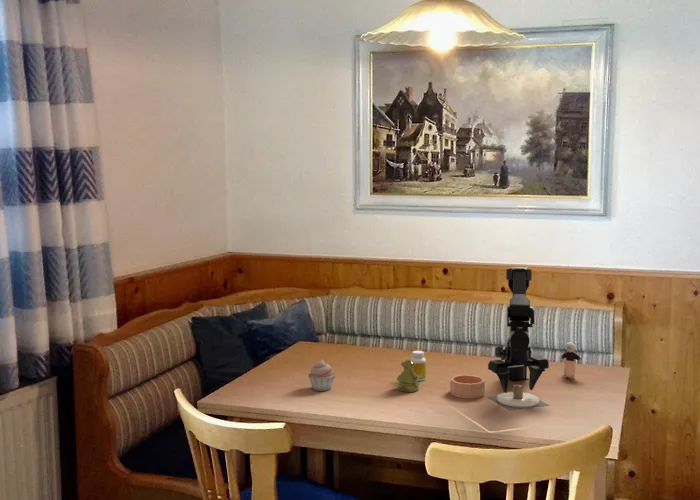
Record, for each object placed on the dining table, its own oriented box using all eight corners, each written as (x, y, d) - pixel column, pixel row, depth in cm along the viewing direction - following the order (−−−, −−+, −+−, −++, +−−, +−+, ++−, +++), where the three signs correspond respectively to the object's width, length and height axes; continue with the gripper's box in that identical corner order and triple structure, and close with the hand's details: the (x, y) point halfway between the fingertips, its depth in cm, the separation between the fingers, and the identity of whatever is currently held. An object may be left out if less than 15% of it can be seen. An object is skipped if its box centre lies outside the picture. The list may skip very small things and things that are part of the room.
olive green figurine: (412, 393, 256) (412, 363, 255) (392, 390, 260) (392, 361, 259) (422, 388, 262) (423, 359, 261) (403, 384, 266) (403, 356, 265)
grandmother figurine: (558, 378, 274) (559, 342, 272) (559, 375, 277) (560, 340, 276) (580, 380, 271) (582, 344, 269) (582, 377, 274) (583, 341, 273)
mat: (525, 394, 255) (525, 392, 255) (549, 406, 242) (549, 405, 242) (487, 398, 251) (487, 396, 250) (509, 411, 237) (509, 410, 237)
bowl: (474, 388, 262) (474, 373, 261) (490, 397, 251) (490, 382, 251) (444, 391, 258) (445, 376, 258) (459, 401, 248) (460, 385, 247)
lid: (525, 393, 254) (525, 378, 254) (547, 405, 242) (547, 389, 241) (489, 397, 250) (489, 381, 250) (510, 409, 238) (510, 393, 237)
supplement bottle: (424, 381, 270) (425, 354, 269) (409, 380, 271) (409, 353, 270) (426, 377, 275) (426, 350, 274) (411, 376, 276) (411, 349, 275)
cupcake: (341, 388, 262) (341, 359, 261) (321, 394, 256) (321, 364, 254) (322, 383, 269) (321, 354, 268) (302, 389, 262) (301, 359, 261)
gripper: (531, 335, 255) (530, 381, 256) (480, 339, 249) (479, 387, 250) (550, 342, 244) (549, 391, 246) (497, 347, 238) (496, 396, 240)
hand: (518, 391), depth 246 cm, fingers open, 9 cm apart
